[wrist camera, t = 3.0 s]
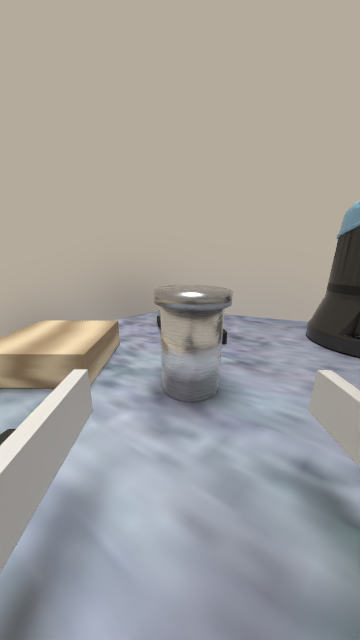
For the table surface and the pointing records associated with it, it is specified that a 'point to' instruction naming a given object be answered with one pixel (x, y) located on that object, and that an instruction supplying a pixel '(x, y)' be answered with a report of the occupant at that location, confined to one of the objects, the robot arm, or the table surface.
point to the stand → (55, 352)
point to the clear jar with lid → (191, 339)
